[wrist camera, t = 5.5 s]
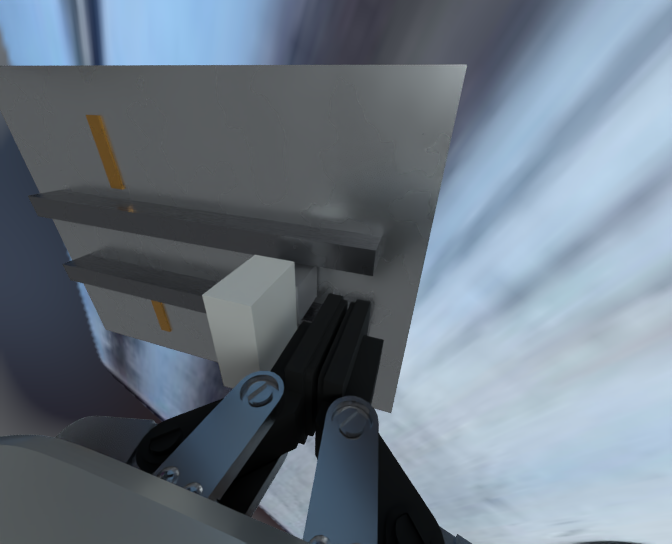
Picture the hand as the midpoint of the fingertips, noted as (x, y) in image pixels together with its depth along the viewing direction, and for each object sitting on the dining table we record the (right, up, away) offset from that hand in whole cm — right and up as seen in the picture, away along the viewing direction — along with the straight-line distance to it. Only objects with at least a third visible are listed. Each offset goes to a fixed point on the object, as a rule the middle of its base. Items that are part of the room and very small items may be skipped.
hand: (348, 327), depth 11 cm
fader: (-2, +2, +3) cm, 5 cm away
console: (-7, +4, +7) cm, 11 cm away
